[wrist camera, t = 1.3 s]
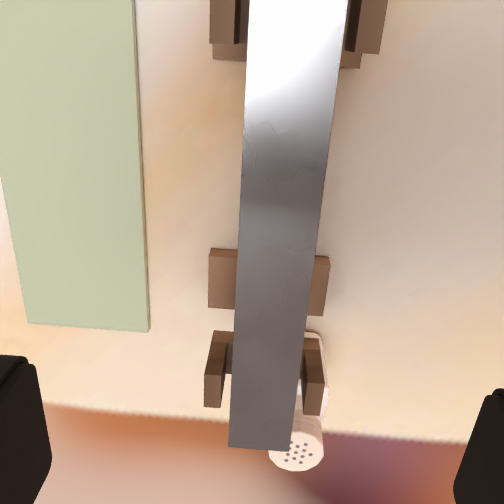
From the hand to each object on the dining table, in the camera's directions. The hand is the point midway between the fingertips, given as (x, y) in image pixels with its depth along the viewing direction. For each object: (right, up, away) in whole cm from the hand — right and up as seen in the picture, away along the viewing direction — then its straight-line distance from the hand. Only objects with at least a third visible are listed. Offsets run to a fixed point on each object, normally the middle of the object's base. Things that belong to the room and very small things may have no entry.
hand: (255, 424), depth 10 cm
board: (-11, +10, +19) cm, 24 cm away
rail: (+1, +5, +11) cm, 12 cm away
